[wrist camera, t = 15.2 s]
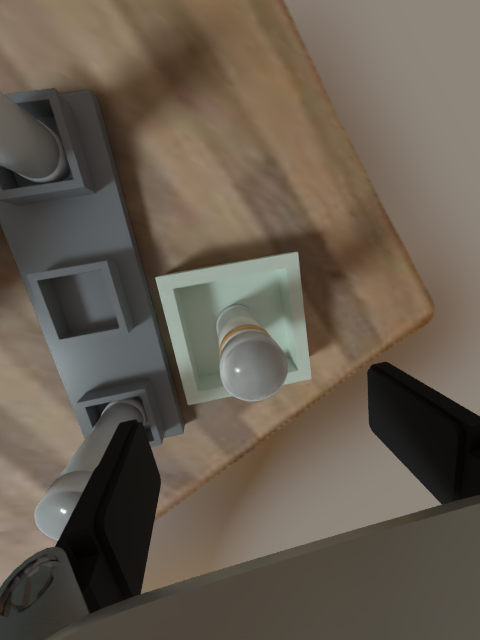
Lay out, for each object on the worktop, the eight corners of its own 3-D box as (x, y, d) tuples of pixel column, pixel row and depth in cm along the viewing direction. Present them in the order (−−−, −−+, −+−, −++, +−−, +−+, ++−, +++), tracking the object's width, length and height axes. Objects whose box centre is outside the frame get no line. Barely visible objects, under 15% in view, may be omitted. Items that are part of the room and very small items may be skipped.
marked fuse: (212, 308, 25) (213, 345, 15) (253, 300, 26) (283, 331, 15) (220, 346, 26) (226, 407, 16) (259, 339, 27) (291, 393, 16)
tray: (163, 274, 25) (155, 277, 21) (284, 252, 26) (297, 251, 22) (191, 385, 28) (187, 405, 24) (297, 362, 29) (311, 378, 25)
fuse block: (-28, 117, 20) (-76, 89, 17) (98, 101, 21) (77, 71, 18) (97, 444, 28) (81, 469, 25) (184, 424, 29) (181, 446, 26)
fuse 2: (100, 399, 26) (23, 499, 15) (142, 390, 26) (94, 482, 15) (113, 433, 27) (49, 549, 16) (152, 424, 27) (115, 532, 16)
